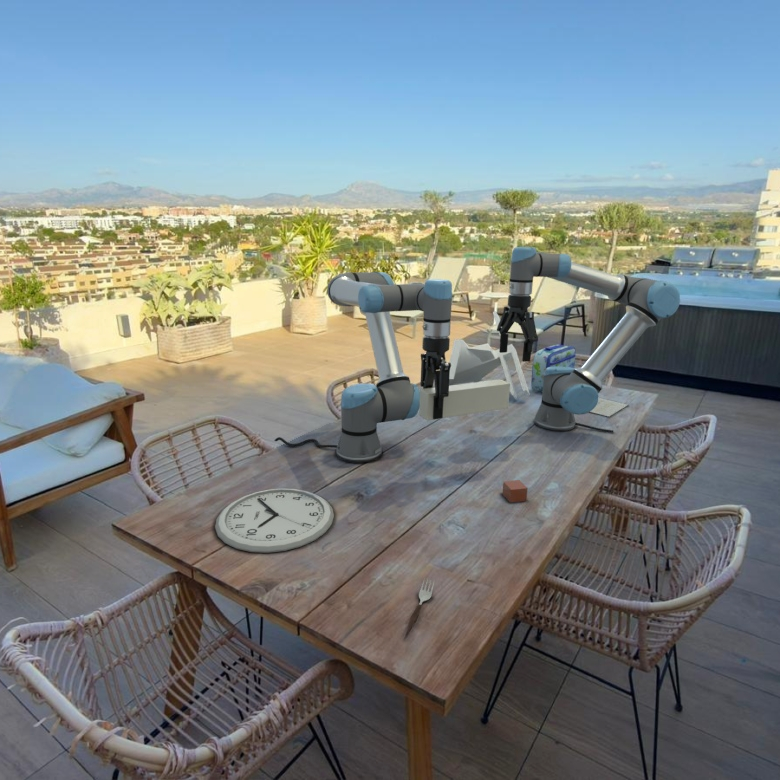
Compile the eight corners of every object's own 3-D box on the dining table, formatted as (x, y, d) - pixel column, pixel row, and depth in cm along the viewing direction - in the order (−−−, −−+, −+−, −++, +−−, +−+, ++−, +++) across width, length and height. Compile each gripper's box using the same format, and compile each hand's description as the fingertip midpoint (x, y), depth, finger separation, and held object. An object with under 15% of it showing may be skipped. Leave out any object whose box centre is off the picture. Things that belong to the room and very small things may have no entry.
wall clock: (332, 544, 122) (200, 548, 120) (332, 550, 123) (201, 555, 120) (334, 484, 151) (228, 486, 148) (334, 489, 151) (228, 491, 149)
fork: (398, 636, 97) (399, 628, 97) (423, 584, 111) (423, 576, 111) (412, 640, 96) (412, 631, 96) (435, 587, 111) (435, 579, 110)
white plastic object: (461, 429, 252) (437, 405, 227) (444, 352, 274) (420, 323, 250) (535, 404, 240) (518, 377, 215) (510, 326, 262) (492, 293, 237)
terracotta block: (518, 492, 152) (519, 479, 150) (526, 500, 147) (527, 488, 146) (502, 494, 151) (503, 481, 149) (509, 502, 146) (511, 489, 145)
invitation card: (608, 416, 214) (573, 407, 224) (608, 416, 214) (573, 408, 224) (628, 404, 229) (594, 396, 238) (628, 405, 229) (594, 397, 238)
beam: (498, 403, 164) (500, 379, 162) (508, 408, 160) (510, 383, 157) (419, 415, 153) (419, 389, 151) (427, 420, 149) (428, 394, 146)
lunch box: (547, 397, 237) (552, 352, 231) (526, 391, 245) (531, 348, 238) (574, 386, 255) (580, 344, 249) (554, 381, 262) (559, 340, 256)
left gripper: (409, 331, 152) (407, 407, 159) (440, 343, 136) (436, 427, 143) (432, 329, 155) (429, 404, 161) (465, 341, 139) (460, 423, 146)
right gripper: (489, 290, 184) (485, 349, 191) (533, 300, 162) (527, 366, 169) (507, 290, 187) (503, 348, 193) (553, 299, 165) (546, 364, 171)
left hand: (433, 414), depth 152 cm, fingers closed on beam, 5 cm apart
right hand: (514, 356), depth 181 cm, fingers open, 13 cm apart
